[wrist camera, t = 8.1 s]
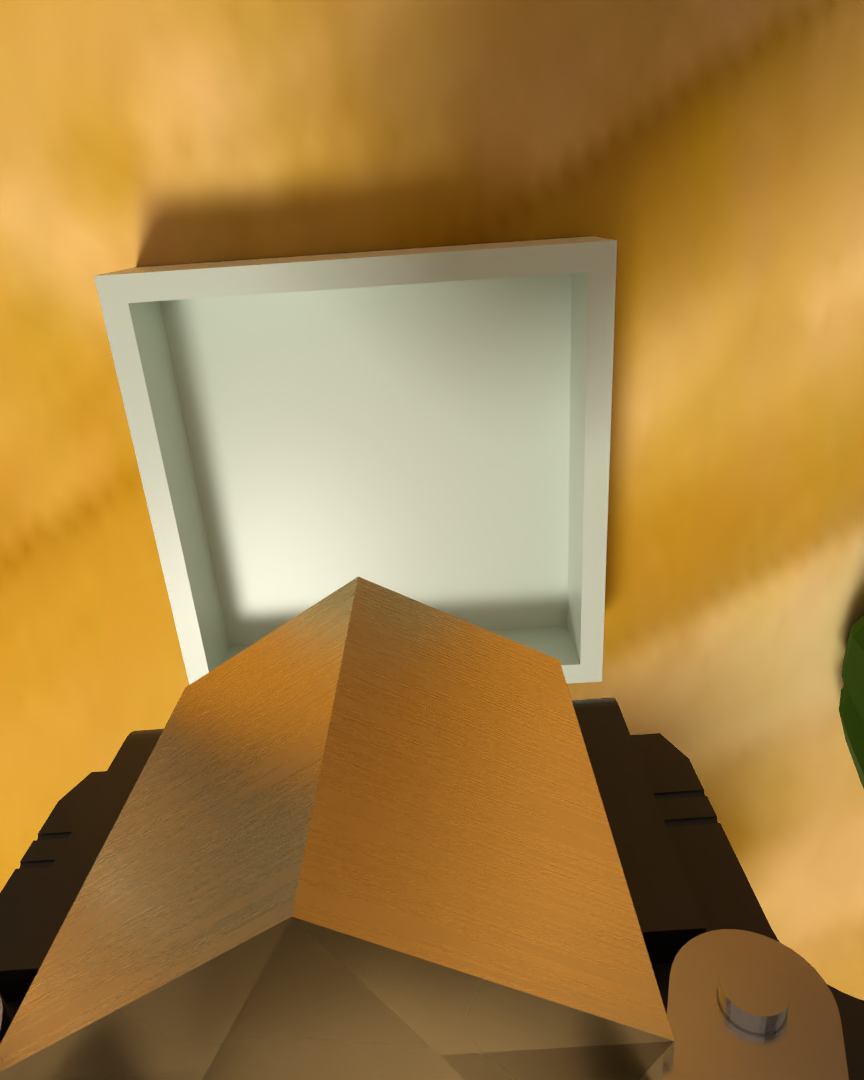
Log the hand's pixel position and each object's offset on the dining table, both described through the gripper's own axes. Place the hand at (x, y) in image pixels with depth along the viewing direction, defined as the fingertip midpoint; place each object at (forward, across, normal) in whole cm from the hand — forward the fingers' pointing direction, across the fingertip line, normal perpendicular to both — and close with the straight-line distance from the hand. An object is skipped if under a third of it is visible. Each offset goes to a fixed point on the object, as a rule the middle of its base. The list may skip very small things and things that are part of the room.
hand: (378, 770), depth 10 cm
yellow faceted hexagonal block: (0, 0, 0) cm, 0 cm away
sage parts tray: (+11, 0, -1) cm, 12 cm away
